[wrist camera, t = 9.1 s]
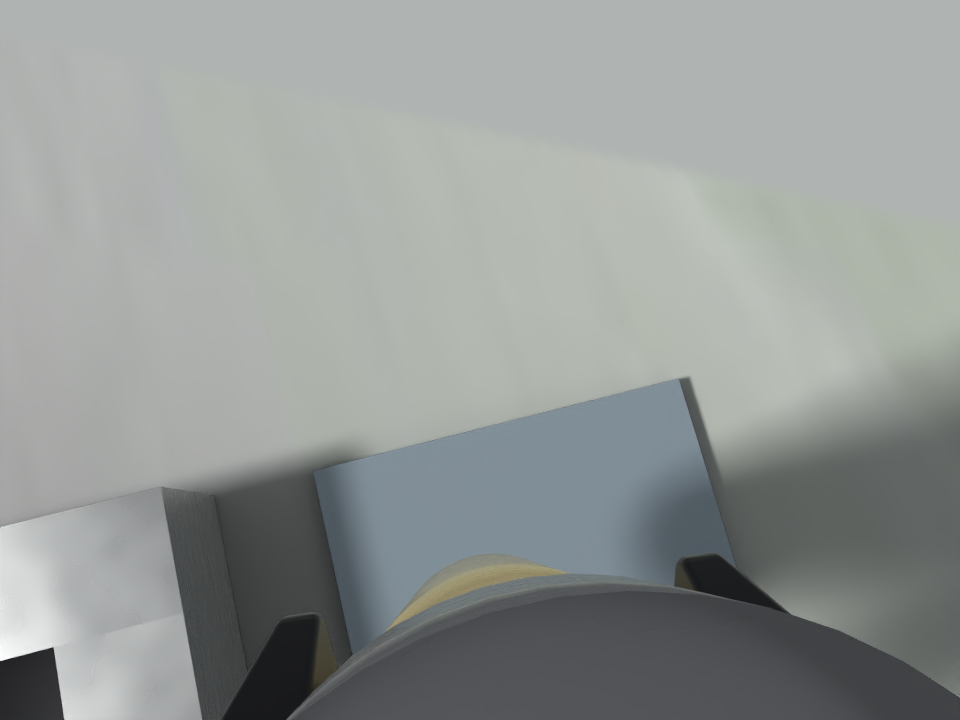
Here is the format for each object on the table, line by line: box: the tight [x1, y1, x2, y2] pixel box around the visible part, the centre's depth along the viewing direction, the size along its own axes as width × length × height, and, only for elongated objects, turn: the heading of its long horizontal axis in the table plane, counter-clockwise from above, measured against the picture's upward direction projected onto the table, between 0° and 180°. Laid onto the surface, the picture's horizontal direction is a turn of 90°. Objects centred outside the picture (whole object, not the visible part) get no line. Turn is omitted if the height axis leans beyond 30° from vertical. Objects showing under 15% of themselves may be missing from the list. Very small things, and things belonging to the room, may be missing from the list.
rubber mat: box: [313, 379, 737, 655], centre depth 21 cm, size 10×10×1 cm
